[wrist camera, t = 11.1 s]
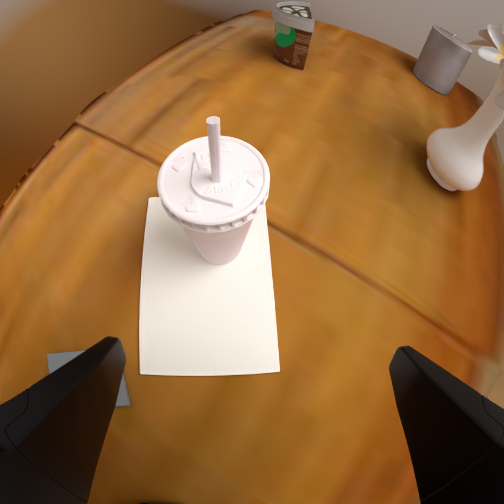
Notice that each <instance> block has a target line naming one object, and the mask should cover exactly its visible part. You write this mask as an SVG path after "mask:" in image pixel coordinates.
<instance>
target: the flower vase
mask: <svg viewBox="0 0 504 504" xmlns="http://www.w3.org/2000/svg"><path fill="white" fill-rule="evenodd" d="M479 35H480V36H481V37H482V38H484V39H485V40H474V41H472V42H470V43H468V44H471V45H483V46H485V47H481V48H480V49H479V50H478V54H479V55H480V57H482V58H484V59H485V60H488V61H490V62H494V63H498V64H500V73H499V76H498V79H497V81H496V84H495V86H494V88H493V90H492V92H491V93H490V95H489V96H488V98H487V99H486V101H485V102H484V103H483V104H482V106H481V107H480V108H479V110H478V111H477V112H476V113H475V114H474V116H473V117H472V118H471V119H470V120H468V121H467V122H466V123H464V124H462V125H460V126H458V127H455V128H440V129H437V130H435V131H434V132H433V133H431V134H430V135H429V137H428V139H427V142H426V148H427V156H428V158H427V167H428V170H429V172H430V174H431V175H432V177H433V178H434V180H435V181H436V182H437V183H438V184H439V185H441V186H442V187H443V188H445V189H447V190H449V191H456V190H461V191H471V190H473V189H475V188H477V186H478V185H479V183H480V181H481V179H482V176H483V155H484V151H485V148H486V145H487V143H488V141H489V139H490V138H491V136H492V135H493V133H494V132H495V130H496V129H497V128H498V126H499V125H500V123H501V122H502V121H503V119H504V22H502V23H501V24H500V26H499V28H497V27H496V26H494V25H491V24H490V25H488V27H487V28H484V29H482V30H480V31H479ZM497 49H498V50H497Z"/></svg>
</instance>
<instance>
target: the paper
mask: <svg viewBox="0 0 504 504" xmlns="http://www.w3.org/2000/svg"><path fill="white" fill-rule="evenodd" d="M139 352H140V374H149V375H174V376H217V375H242V374H258V373H271V372H280V366H279V353H278V340H277V328H276V316H275V304H274V292H273V281H272V270H271V260H270V249H269V239H268V229H267V219H266V209H265V204H264V206H263V208H262V209H261V211H260V212H259V213H258V214H257V215H256V216H255V217H254V218H253V221H252V223H251V226H250V228H249V231H248V234H247V236H246V239H245V241H244V244H243V246H242V249H241V251H240V253H239V255H238V256H237V258H236V259H235V260H233V261H232V262H230V263H228V264H224V265H215V264H211V263H209V262H207V261H206V260H205V259H204V258H203V257H202V256H201V254H200V253H199V251H198V250H197V248H196V247H195V245H194V244H193V242H192V241H191V240H190V238H189V237H188V235H187V234H186V232H185V231H184V229H183V228H182V226H181V225H179V224H178V223H176V222H175V221H174V220H173V219H171V218H170V217H169V216H168V214H167V213H166V211H165V210H164V208H163V206H162V203H161V200H160V197H153V198H149V203H148V210H147V218H146V227H145V236H144V246H143V258H142V271H141V289H140V318H139Z"/></svg>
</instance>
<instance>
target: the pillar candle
mask: <svg viewBox="0 0 504 504" xmlns="http://www.w3.org/2000/svg"><path fill="white" fill-rule="evenodd" d="M455 35H456V34H455ZM455 35H453V34H451V33H449V32H448V31H446V30H444V29H442V28H440V27H438V26H435V25H433V27H432V29H431V31H430V34H429V36H428V38H427V41H426V43H425V45H424V47H423V49H422V52H421V54H420V56H419V58H418V60H417V62H416V64H415V67H414V69H413V73H414V75H415V76H416V77H417V78H418V79H419V80H420V81H421V82H422V83H423V84H425V85H426V86H428V87H430V88H432V89H433V90H435V91H436V92H438V93H440V94H443V95H448V94H449V92H450V91H451V89H452V88H453V86H454V84H455V82H456V81H457V79H458V77H459V75H460V74H461V72H462V70H463V68H464V66H465V64H466V63H467V61H468V59H469V57H470V55H471V54H472V50H471V49H470V48H469V47H468V46H467V45H466V44H465V43H464V42H462V41H461V40H460V39H458V38H457V37H456V36H455Z"/></svg>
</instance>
